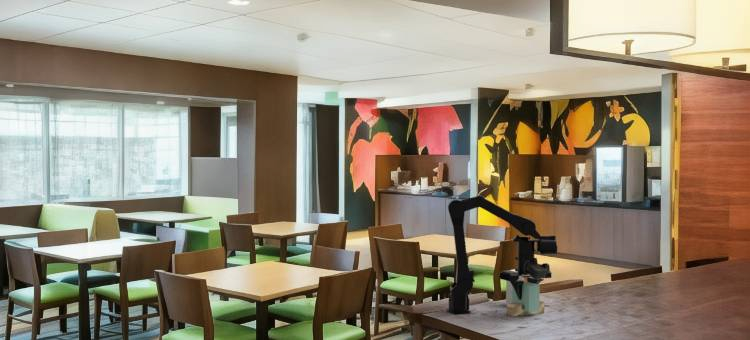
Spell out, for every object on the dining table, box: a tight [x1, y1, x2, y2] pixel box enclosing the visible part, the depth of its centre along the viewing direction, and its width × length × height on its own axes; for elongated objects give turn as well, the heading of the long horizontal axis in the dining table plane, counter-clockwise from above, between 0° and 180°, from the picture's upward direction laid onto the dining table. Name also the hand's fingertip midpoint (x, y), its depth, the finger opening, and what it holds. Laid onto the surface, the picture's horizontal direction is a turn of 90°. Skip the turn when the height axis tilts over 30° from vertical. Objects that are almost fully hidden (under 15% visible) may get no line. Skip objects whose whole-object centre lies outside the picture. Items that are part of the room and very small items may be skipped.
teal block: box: [512, 281, 541, 312], centre depth 227 cm, size 4×9×9 cm, turn 26°
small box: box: [505, 269, 527, 306], centre depth 241 cm, size 8×6×13 cm
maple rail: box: [506, 299, 545, 317], centre depth 227 cm, size 14×3×4 cm, turn 116°
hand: (525, 299), depth 227 cm, fingers closed on teal block, 4 cm apart
